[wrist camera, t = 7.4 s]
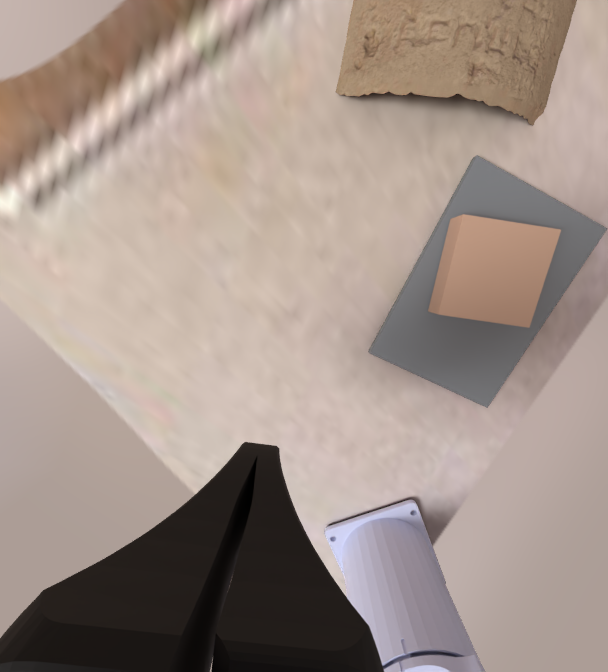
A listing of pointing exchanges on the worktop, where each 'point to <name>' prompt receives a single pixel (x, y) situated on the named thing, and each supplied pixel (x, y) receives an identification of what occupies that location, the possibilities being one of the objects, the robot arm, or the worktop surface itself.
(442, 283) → the tile
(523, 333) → the mat
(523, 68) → the clay tablet
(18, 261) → the worktop surface
